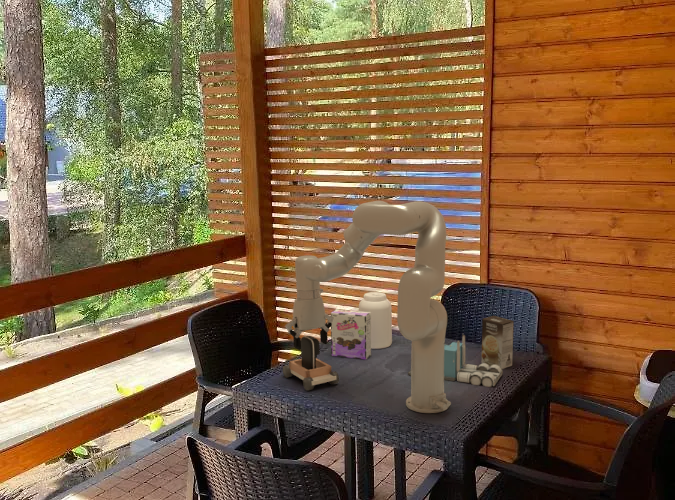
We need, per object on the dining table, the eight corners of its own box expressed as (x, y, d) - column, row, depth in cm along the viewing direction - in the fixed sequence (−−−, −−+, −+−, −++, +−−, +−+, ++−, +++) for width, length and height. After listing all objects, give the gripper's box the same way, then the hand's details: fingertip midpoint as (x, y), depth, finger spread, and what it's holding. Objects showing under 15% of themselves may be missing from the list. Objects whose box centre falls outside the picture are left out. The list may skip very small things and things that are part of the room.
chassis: (339, 385, 216) (338, 368, 215) (309, 392, 210) (308, 374, 209) (311, 369, 231) (311, 353, 230) (282, 375, 225) (282, 359, 224)
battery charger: (321, 372, 218) (321, 338, 216) (311, 375, 216) (310, 340, 214) (310, 367, 224) (310, 333, 222) (301, 369, 222) (300, 335, 220)
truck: (419, 365, 234) (419, 323, 232) (502, 376, 222) (503, 332, 219) (407, 376, 223) (407, 332, 221) (494, 389, 211) (495, 342, 209)
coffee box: (480, 363, 234) (481, 318, 232) (492, 359, 238) (493, 315, 236) (501, 369, 227) (502, 323, 225) (513, 365, 231) (514, 320, 228)
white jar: (396, 341, 261) (396, 291, 258) (385, 351, 250) (384, 298, 247) (366, 338, 266) (365, 289, 263) (354, 347, 255) (353, 295, 252)
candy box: (330, 356, 245) (329, 312, 242) (336, 351, 250) (335, 308, 248) (366, 360, 240) (365, 315, 237) (371, 355, 245) (371, 311, 243)
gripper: (325, 288, 223) (327, 338, 226) (279, 296, 214) (282, 348, 217) (337, 292, 217) (339, 343, 219) (290, 300, 208) (292, 353, 211)
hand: (311, 345), depth 218 cm, fingers open, 9 cm apart
